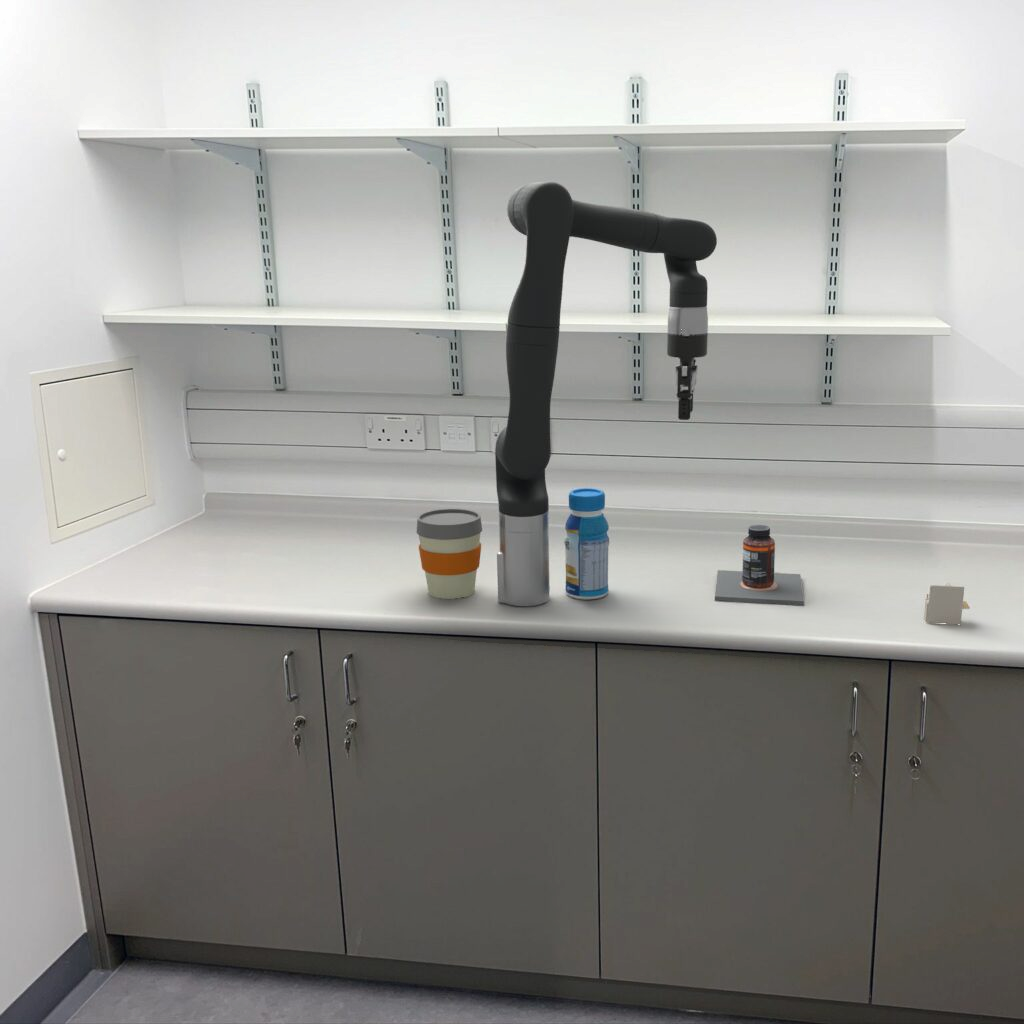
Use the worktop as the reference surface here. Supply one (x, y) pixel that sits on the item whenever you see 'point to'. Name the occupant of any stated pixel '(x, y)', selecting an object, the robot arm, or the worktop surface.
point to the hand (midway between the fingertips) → (685, 415)
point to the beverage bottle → (586, 545)
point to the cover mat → (759, 589)
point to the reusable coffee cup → (450, 551)
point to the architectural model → (945, 604)
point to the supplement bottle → (758, 557)
